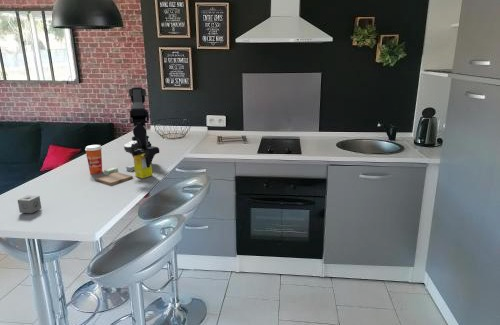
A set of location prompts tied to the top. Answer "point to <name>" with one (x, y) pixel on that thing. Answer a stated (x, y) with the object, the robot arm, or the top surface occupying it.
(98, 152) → the paper cup
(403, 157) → the top surface
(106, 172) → the sage brick
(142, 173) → the supplement box
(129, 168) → the slate brick
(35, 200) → the dice cube
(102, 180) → the walnut board
